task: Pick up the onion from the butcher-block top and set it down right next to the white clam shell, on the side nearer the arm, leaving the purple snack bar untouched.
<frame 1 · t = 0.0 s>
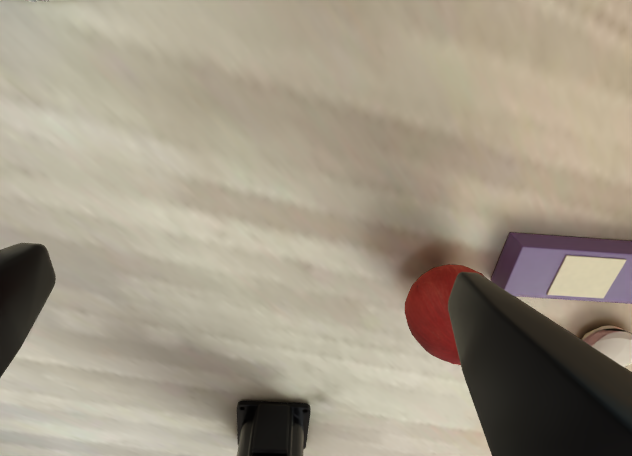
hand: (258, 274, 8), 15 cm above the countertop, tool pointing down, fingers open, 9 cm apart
white clam shell: (601, 335, 30), on the countertop
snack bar: (568, 261, 26), on the countertop
onion: (435, 274, 27), on the countertop
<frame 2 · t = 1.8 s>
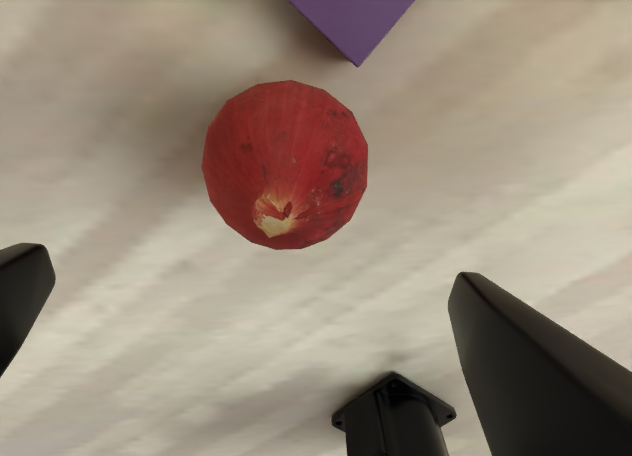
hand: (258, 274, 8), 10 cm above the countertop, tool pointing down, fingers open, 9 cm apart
onion: (291, 135, 17), on the countertop
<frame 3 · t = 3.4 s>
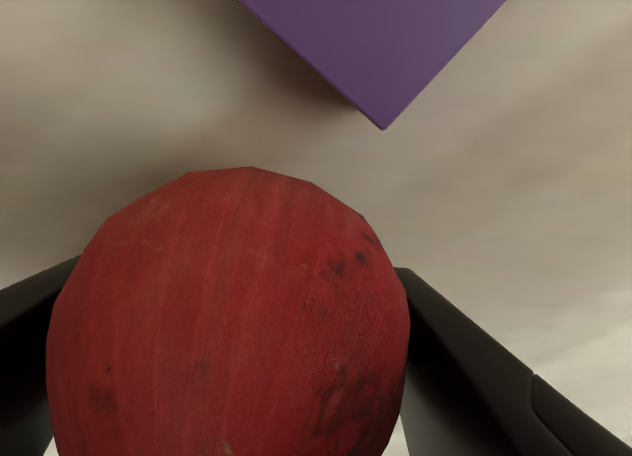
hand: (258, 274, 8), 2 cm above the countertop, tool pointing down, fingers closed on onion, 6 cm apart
onion: (267, 224, 10), on the countertop, touching gripper
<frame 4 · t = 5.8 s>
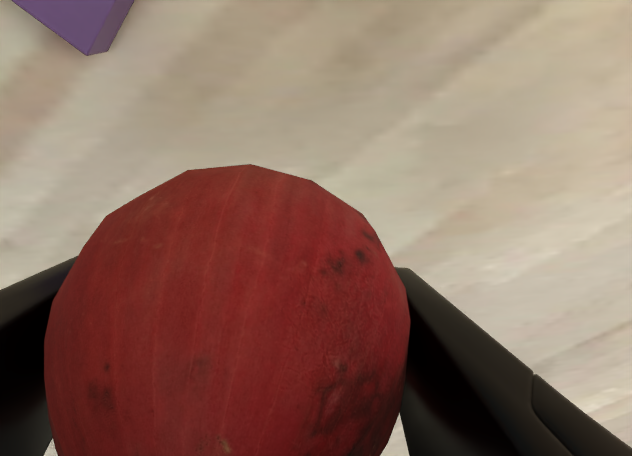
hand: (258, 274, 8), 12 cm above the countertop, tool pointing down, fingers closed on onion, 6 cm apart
onion: (266, 223, 10), point 9 cm above the countertop, touching gripper
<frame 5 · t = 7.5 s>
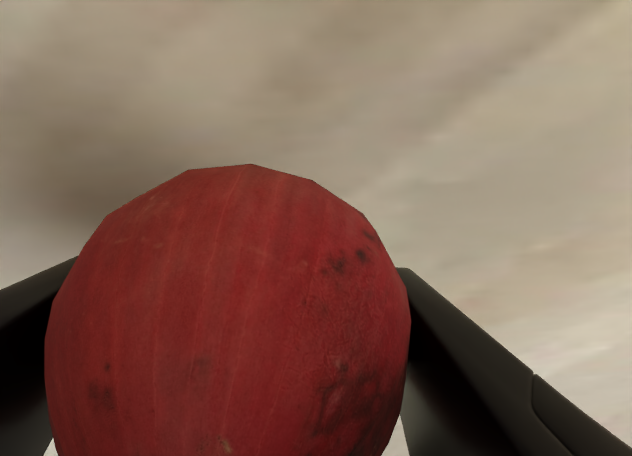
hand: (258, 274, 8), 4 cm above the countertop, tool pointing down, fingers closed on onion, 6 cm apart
onion: (267, 222, 10), point 2 cm above the countertop, touching gripper
when the fingers open (2 cm above the countertop, at t = 8.7 s): onion stays where it is, on the countertop.
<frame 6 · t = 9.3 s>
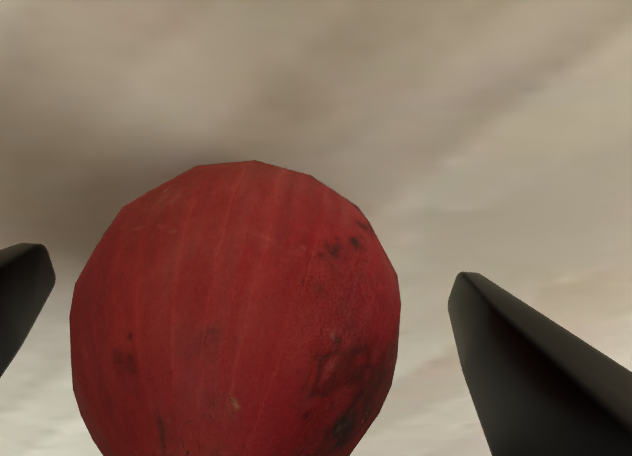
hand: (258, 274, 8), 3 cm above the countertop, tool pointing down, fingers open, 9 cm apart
onion: (268, 217, 11), on the countertop
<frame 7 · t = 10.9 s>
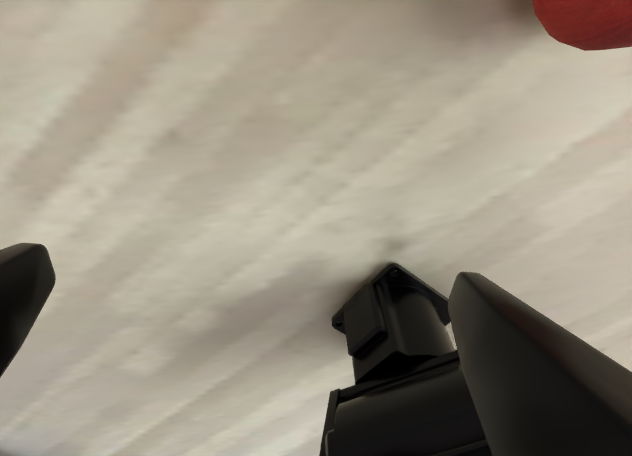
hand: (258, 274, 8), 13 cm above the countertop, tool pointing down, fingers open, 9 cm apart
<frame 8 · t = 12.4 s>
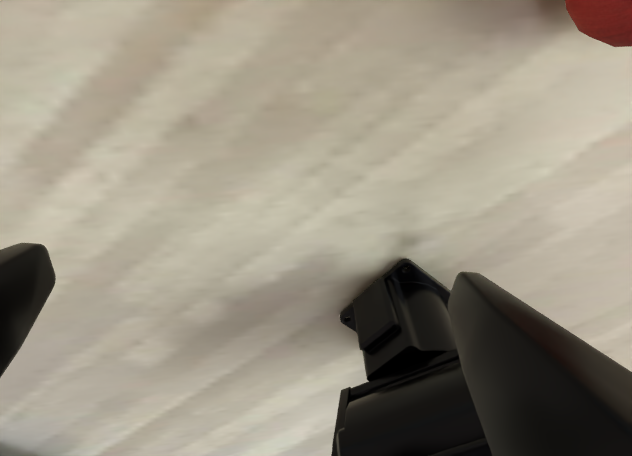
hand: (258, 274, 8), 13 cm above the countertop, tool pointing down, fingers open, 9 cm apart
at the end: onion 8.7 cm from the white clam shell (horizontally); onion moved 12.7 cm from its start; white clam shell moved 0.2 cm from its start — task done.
